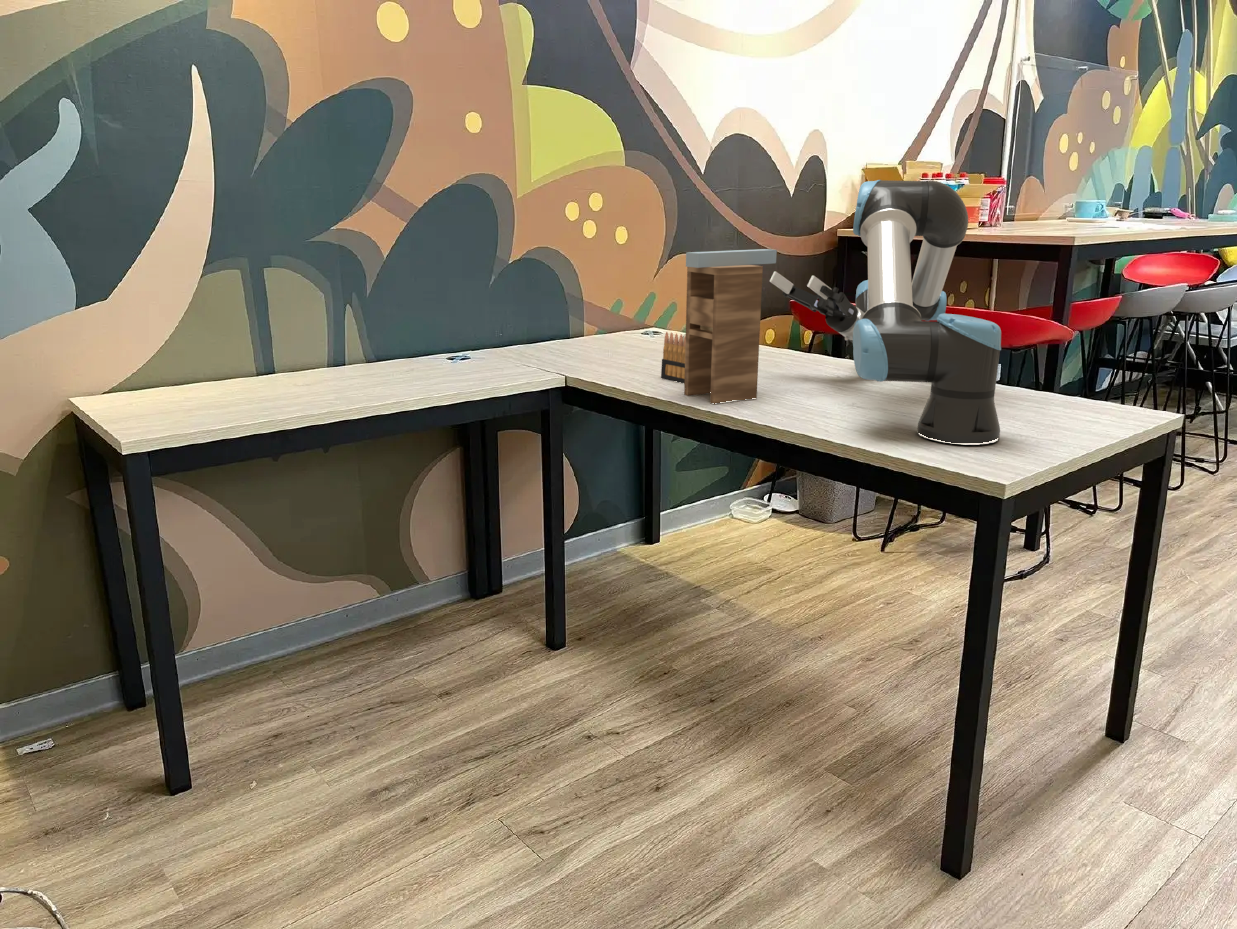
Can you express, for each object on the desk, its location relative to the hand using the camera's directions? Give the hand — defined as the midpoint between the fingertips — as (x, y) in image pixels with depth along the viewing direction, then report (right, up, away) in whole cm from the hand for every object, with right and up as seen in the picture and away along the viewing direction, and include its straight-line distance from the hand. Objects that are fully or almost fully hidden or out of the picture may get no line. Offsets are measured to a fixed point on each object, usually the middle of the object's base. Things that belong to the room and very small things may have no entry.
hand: (791, 278), depth 219 cm
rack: (-17, -28, -2) cm, 33 cm away
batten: (-15, +1, -9) cm, 17 cm away
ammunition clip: (-26, -23, +16) cm, 38 cm away
